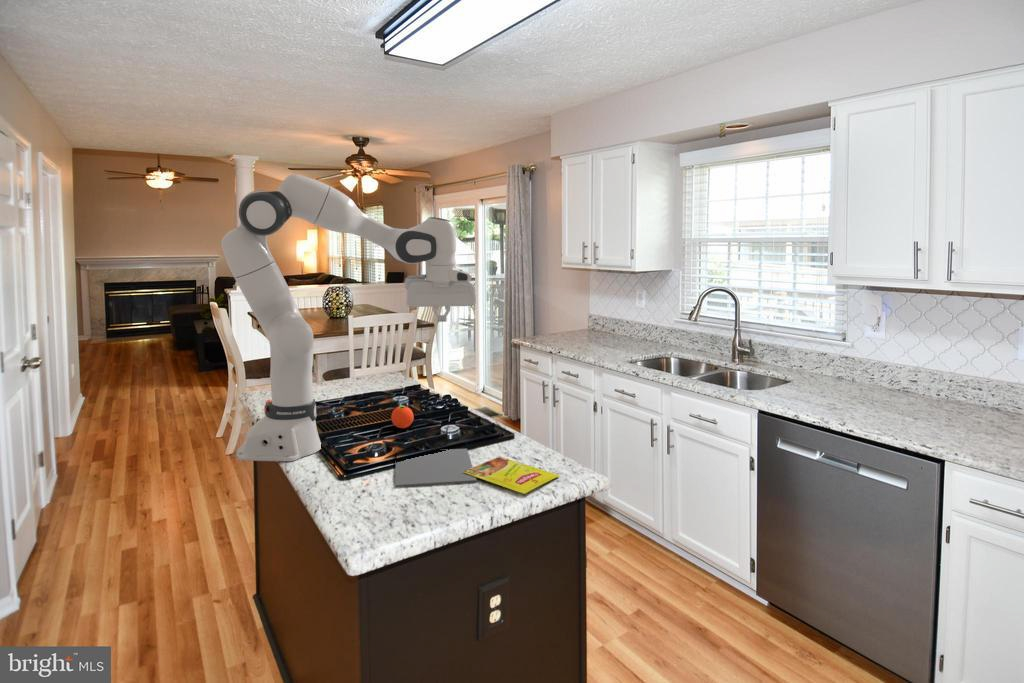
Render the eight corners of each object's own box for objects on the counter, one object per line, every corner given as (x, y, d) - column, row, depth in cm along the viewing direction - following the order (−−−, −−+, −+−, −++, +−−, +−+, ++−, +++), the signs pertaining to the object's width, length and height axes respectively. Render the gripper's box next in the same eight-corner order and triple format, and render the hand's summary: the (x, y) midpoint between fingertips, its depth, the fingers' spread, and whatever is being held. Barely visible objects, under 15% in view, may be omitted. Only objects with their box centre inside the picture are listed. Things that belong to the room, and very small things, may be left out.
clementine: (389, 424, 199) (388, 403, 197) (410, 422, 201) (410, 401, 200) (393, 432, 191) (393, 410, 190) (415, 430, 194) (415, 408, 192)
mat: (395, 487, 152) (395, 485, 152) (395, 454, 174) (395, 452, 174) (476, 482, 156) (476, 480, 156) (467, 450, 177) (467, 448, 177)
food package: (500, 454, 172) (560, 473, 160) (500, 458, 172) (560, 477, 160) (462, 470, 160) (524, 491, 148) (462, 474, 160) (524, 496, 148)
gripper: (404, 275, 175) (405, 323, 178) (476, 275, 179) (476, 322, 181) (404, 273, 181) (405, 320, 184) (474, 273, 185) (474, 319, 188)
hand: (441, 321), depth 183 cm, fingers closed
